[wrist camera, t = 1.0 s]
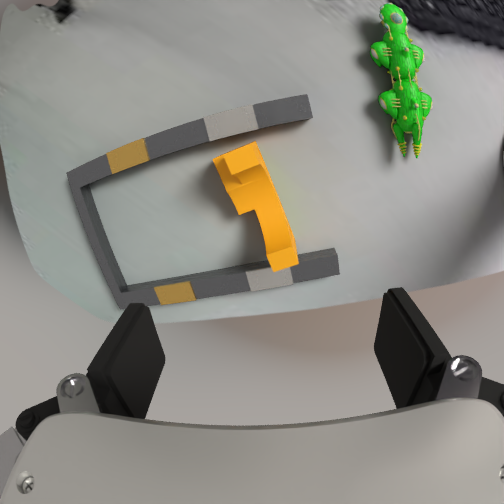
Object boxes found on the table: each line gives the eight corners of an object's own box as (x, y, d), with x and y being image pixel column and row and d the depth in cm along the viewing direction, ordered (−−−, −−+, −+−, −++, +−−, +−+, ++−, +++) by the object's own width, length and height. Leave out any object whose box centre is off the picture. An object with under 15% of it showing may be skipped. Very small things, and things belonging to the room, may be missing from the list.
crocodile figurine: (405, 14, 21) (420, 3, 17) (428, 155, 28) (447, 159, 24) (354, 9, 22) (364, -5, 18) (379, 156, 29) (393, 160, 25)
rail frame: (304, 96, 27) (307, 93, 25) (336, 266, 34) (340, 275, 32) (75, 169, 32) (65, 172, 30) (126, 301, 39) (119, 310, 37)
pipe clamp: (218, 156, 30) (204, 163, 24) (255, 140, 29) (250, 143, 23) (260, 251, 34) (256, 277, 29) (294, 239, 34) (298, 263, 28)
